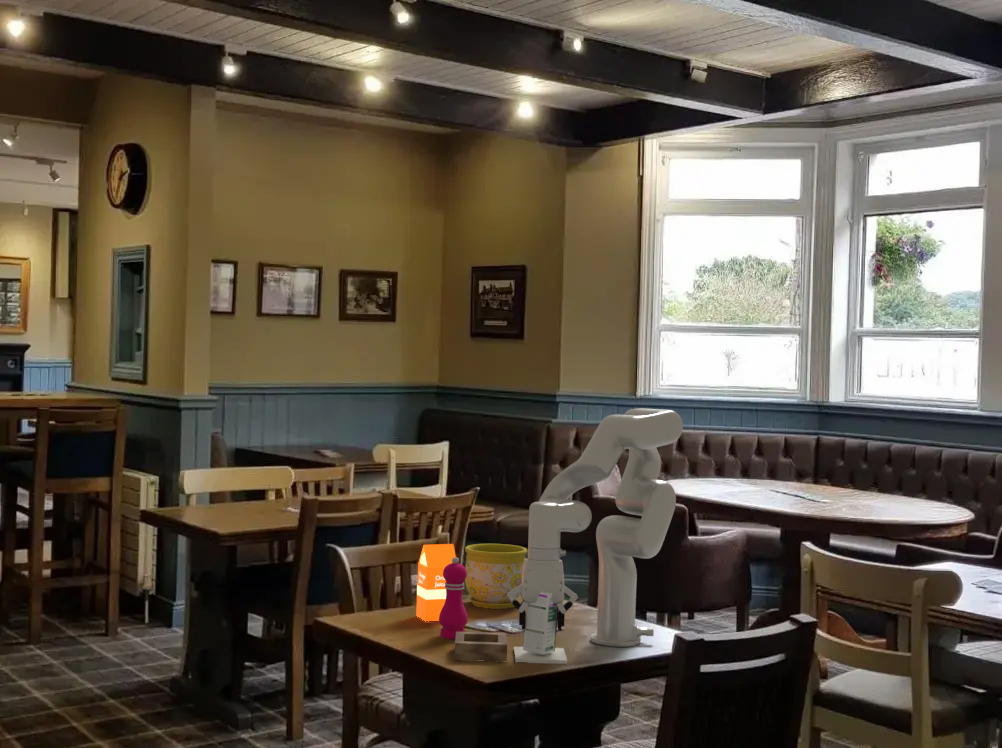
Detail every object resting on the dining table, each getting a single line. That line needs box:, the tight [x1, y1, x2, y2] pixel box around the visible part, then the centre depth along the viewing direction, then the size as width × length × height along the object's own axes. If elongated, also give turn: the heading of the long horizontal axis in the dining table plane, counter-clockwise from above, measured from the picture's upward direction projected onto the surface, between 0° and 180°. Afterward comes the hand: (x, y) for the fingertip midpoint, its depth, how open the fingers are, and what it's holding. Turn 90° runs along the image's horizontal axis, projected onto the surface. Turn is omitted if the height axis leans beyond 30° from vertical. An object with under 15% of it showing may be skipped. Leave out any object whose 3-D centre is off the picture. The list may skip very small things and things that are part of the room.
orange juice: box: [415, 543, 457, 623], centre depth 304 cm, size 8×9×20 cm
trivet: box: [513, 646, 568, 665], centre depth 265 cm, size 12×12×1 cm
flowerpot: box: [464, 543, 528, 610], centre depth 325 cm, size 18×18×16 cm
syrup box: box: [522, 591, 559, 655], centre depth 265 cm, size 6×6×14 cm
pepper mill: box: [438, 556, 469, 640], centre depth 283 cm, size 7×7×20 cm
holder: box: [454, 631, 508, 662], centre depth 265 cm, size 12×12×4 cm
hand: (541, 628), depth 265 cm, fingers closed on syrup box, 8 cm apart
